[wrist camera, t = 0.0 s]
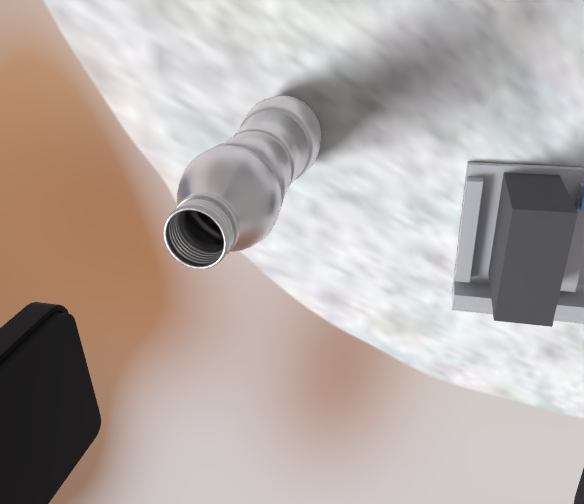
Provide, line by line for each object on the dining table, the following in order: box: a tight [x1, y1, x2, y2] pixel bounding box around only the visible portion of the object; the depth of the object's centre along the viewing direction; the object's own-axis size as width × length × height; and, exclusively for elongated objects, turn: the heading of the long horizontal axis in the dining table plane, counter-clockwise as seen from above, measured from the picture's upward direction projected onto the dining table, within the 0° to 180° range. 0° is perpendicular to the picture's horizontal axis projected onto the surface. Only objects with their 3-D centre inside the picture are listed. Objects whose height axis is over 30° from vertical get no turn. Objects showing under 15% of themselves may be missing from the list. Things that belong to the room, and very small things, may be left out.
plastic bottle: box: [164, 96, 321, 269], centre depth 38 cm, size 6×7×20 cm
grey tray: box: [452, 162, 584, 324], centre depth 44 cm, size 12×18×3 cm, turn 92°
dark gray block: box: [488, 172, 578, 326], centre depth 42 cm, size 9×4×7 cm, turn 2°
